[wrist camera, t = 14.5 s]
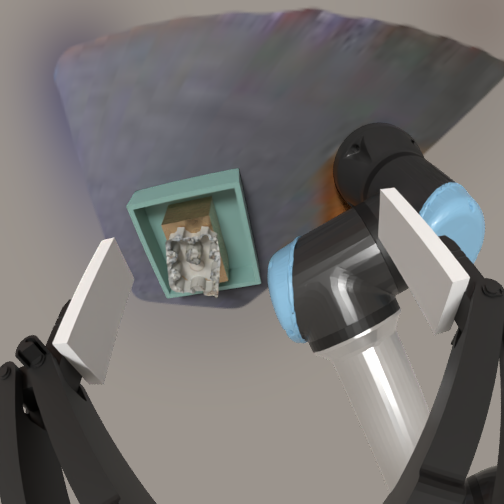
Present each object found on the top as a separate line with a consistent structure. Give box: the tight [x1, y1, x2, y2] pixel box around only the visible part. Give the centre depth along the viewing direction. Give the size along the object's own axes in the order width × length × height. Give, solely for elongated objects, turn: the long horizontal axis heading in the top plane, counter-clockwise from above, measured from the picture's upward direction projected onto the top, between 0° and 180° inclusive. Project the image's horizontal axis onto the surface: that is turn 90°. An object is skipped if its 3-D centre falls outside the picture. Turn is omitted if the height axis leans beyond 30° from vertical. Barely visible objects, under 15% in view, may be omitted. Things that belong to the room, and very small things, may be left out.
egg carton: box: [165, 226, 221, 298], centre depth 45 cm, size 11×8×4 cm
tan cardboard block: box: [161, 196, 229, 283], centre depth 48 cm, size 7×12×6 cm, turn 10°
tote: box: [126, 168, 261, 298], centre depth 50 cm, size 17×19×5 cm
